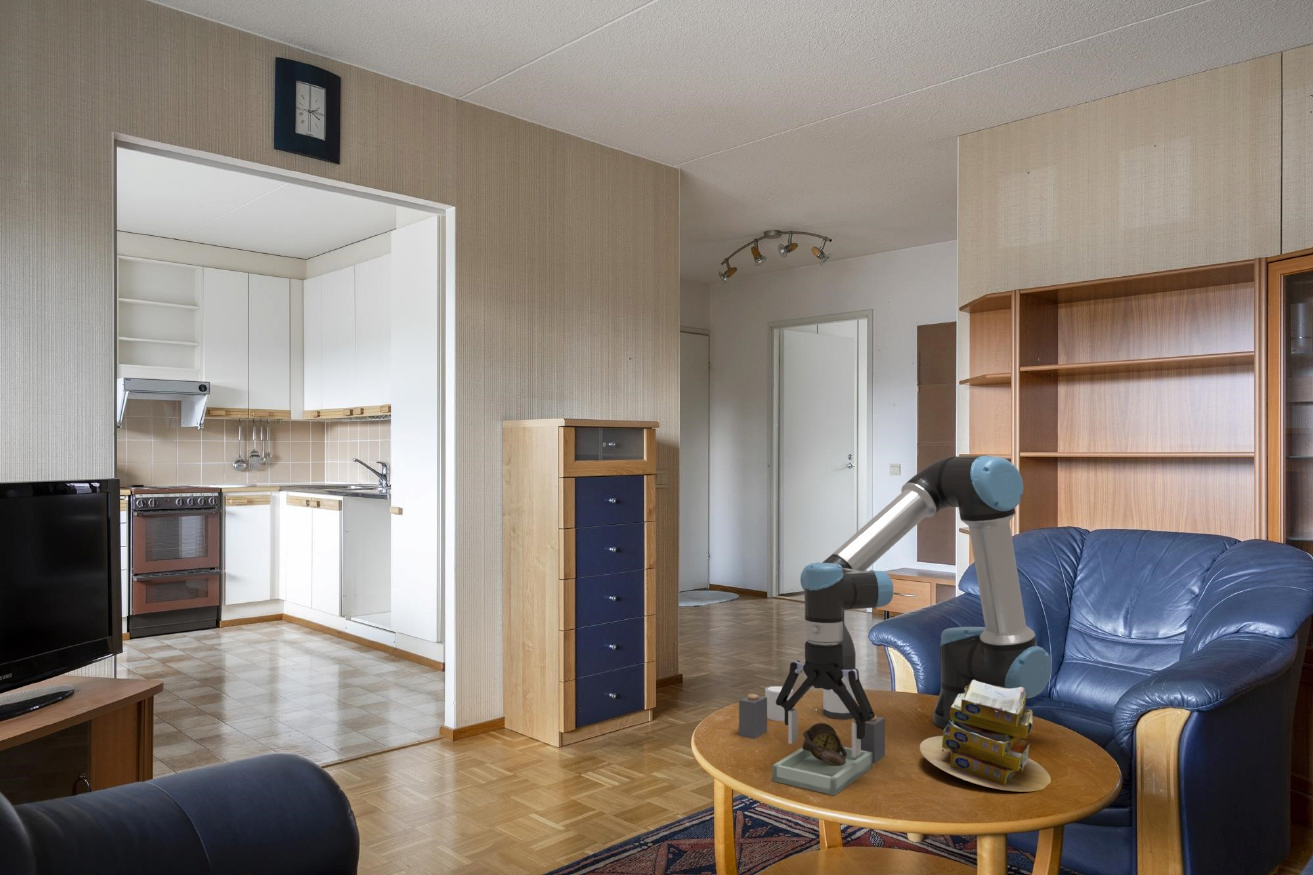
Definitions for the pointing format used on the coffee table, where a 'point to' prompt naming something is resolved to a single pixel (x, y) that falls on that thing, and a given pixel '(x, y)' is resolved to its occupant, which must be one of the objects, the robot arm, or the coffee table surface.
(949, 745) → the plate of stacked boxes
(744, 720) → the far-side block
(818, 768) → the sage tray
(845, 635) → the wine bottle
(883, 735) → the block
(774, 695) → the light grey cylinder
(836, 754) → the brown alarm clock
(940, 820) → the coffee table surface
